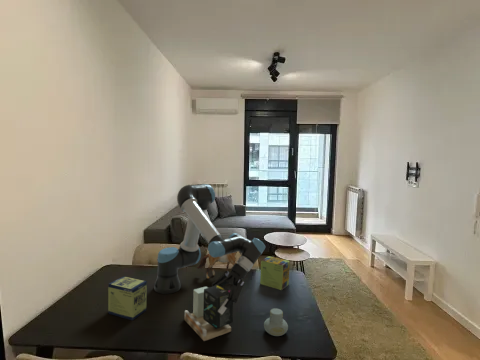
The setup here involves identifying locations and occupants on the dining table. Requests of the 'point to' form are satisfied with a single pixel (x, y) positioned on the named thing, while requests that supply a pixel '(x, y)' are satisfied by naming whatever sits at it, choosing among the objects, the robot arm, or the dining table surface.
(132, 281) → the protein box
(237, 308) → the dining table surface
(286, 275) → the protein box
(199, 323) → the pale wooden board
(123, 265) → the dining table surface
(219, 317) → the tampon box
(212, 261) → the horse figurine
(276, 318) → the air freshener
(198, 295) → the sage carton
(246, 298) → the dining table surface
